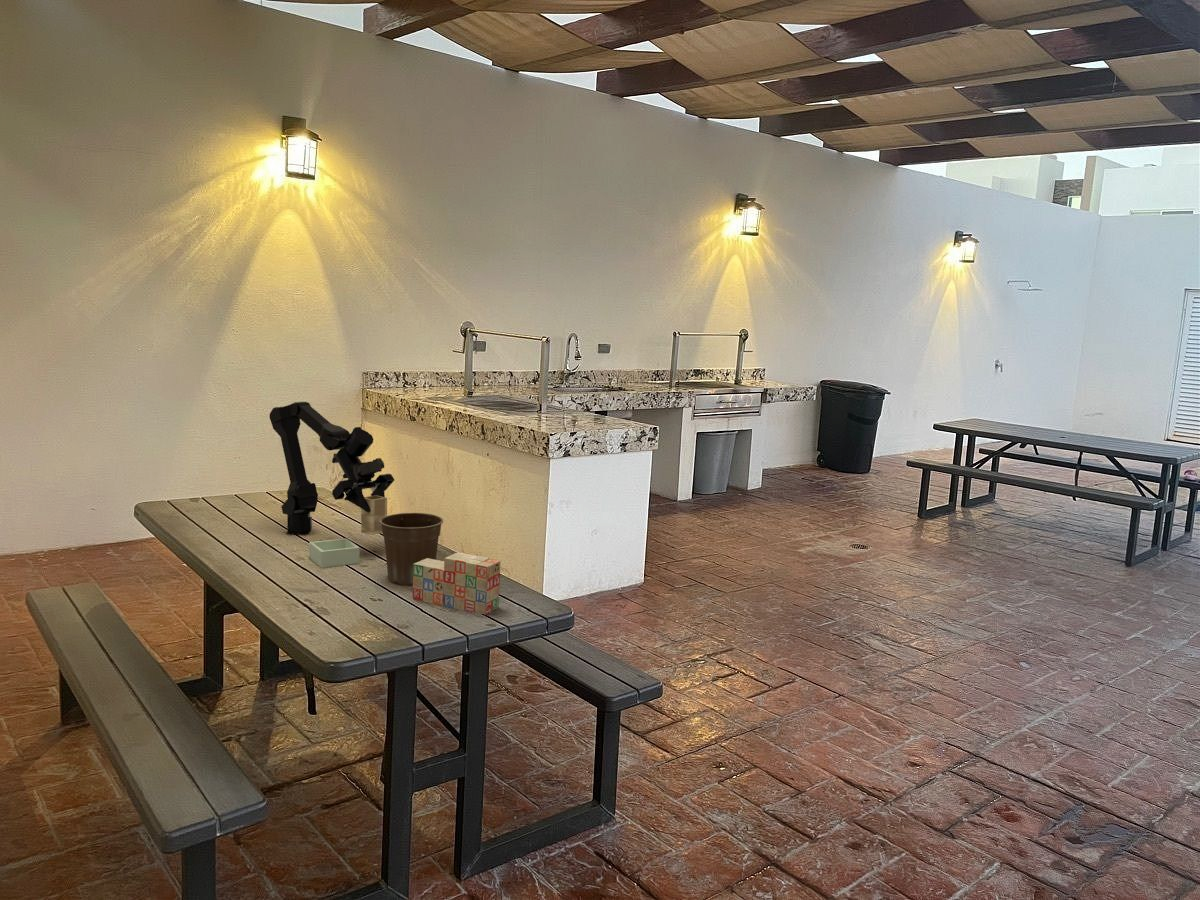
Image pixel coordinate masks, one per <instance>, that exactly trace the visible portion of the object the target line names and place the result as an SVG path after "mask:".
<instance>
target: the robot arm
mask: <svg viewBox="0 0 1200 900" xmlns="http://www.w3.org/2000/svg"><path fill="white" fill-rule="evenodd" d="M269 421H270V423H271V425H272V429H273V431H274V432H275V433H277V435H278V436H279V437H280V441H281V445H282V450H283V454H284V459H285V464H286V469H287V473H288V477H289V485H288V488H287V491H286V495H287V499H286V501H285V502H284V503H283V504H282V505H281V512H282V514H283V515H287V522H286V524H287V531H286V532H285V534H286V535H309V533H310V532H312V530H313V517H312V516H311V513H314V512H315V511H316V508H317V505H318V501H319V497H318V496H319V494H318V491H317V485H316V483H315V482H312V483H311V481H309V479H308V476H307V473H306V468H305V464H304V459H303V454H302V448H301V445H300V439H299V436H298V435H299V434H298V433H299V430H300V426H301V421H302V422H303V423H304V424H306V426H307V427H309V428H310V429H311V430H312V431H313V432H315V434H317V435H318V437H319V442H320V443H321V445H322V446H323V447H324V448H325V449H326V450H327V451H337V450H338V451H337V452H336V453H333V457H332V459H331V463H332V464H339V466H340V467H341V470H342V472H343V474H342V478H343V479H344V480H340V481H338V483H337V484H336V485H335V487H334V488H333V489H332V491H331V495H332V497H333V498H334V500H341V499H342V500H343V499H344V501H348V502H349V503H351V504H353V505H355V506H357V507H359V508H360V509H363V510H365V511H366V512H368V513H369V512H370V511H371V510H370V507H369V505H368V503H367V501H366V499H365V498H364V497H365V496H364V494H363V490H367V489H371V492H372V493H371V494H370V496H374V495H378V496H382V497H386V496H385V492H386V491H387V490H388V488H389V487H390V486H391V485H393V483H394V482H395V478H394V476H393V475H392V474H391V473H385V474H383V473H381V472H382V470H383V469H385V463H384V461H383V459H382V458H380V457H378V458H374V459H373V460H371V461H366V462H362V461H361V459H360V457H363V456H364V455H365V453H366V452H367V451H368V450H369V448H370V447H372V446H371V445H373V443H374V436H373V435H372V434H371V433H369V431H366V430H365V429H362V427H361V426H356V427H354V428H353V429H352V431H351V433H350V431H348V430H347V429H345V428H344V427H342V426H339V425H336V424H333V423H332V422H330V421H329V420H328V419H326V418H325V417H324V416H323V415H321V413H319V411H317V410H316V409H315V408H313V407H312V406H311V403H310V402H307V401H296V402H295V401H294V402H293V403H290V404H287V405H285V406H276V407H273V408H272V409H271V410H270V412H269ZM377 473H381V474H379V475H378V476H377V477H376V478H375V476H376V475H375V474H377ZM373 478H375V479H374V480H372V479H373Z"/></svg>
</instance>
